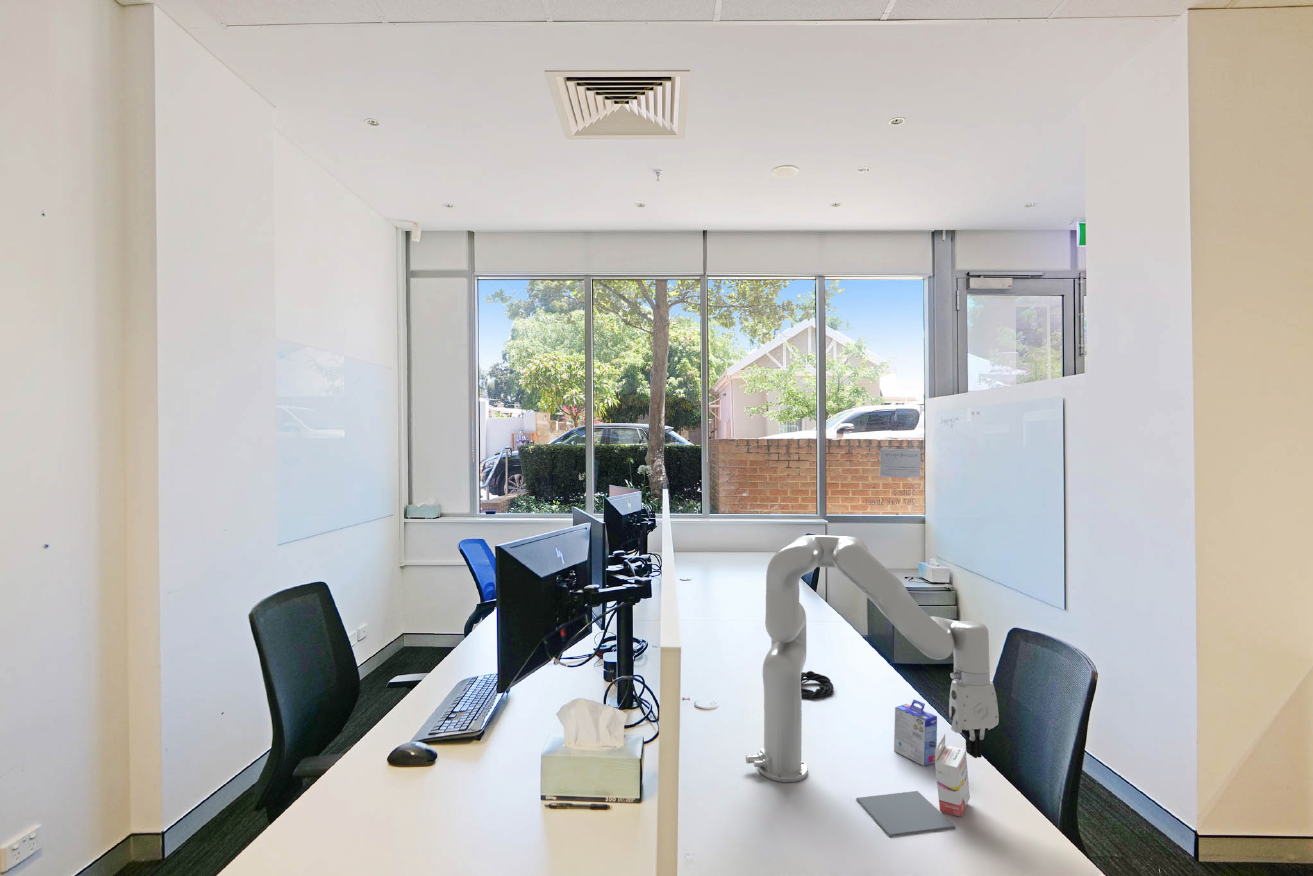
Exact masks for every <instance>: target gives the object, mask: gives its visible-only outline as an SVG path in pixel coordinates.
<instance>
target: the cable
mask: <svg viewBox="0 0 1313 876" xmlns="http://www.w3.org/2000/svg"><path fill="white" fill-rule="evenodd" d="M809 681H813V682H814V681H815V682H817V683H819V684H821V685H820V686H819V687H818V688H816V690H815V691H814V690H812V689H808V688H805V687H801V698H802V699H805V700H809V699H816V698H820V697H828V696H830V695H831V694H833V692H834V685H833V683H832V681H831V679H830V678H829V677H828V676H826V675H824V674H823V675H822V674H820V673H816V672H814V671H812V670H809V671H807V672H803V671H802V673H801V685H803V684H806V683H808V682H809Z"/></svg>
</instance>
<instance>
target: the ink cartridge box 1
mask: <svg viewBox="0 0 1313 876" xmlns="http://www.w3.org/2000/svg"><path fill="white" fill-rule="evenodd" d="M916 704H917V705H919V706H920V707H918V706H916ZM925 706H926V703H924V702H922V701H919V700H916V699H913V700H912V703H911V704H908V703H905V704H902V705H898V706H896V707H894V734H893V736H894V737H893V741H894V742H893V752H895V753H898V754H899V755H901V756H903V757H905V758H908V759H910V760H912V761H913V762H915V763H918V764H920V765H921V766H923V767H924V766H927V765H930V764H931V765H932V764H935V749H936V747H937V745H938V743H937V741H938V740H937V738H938V716H937V715H935V714H932V713H930V712H928V711H925V710H924V709H925Z"/></svg>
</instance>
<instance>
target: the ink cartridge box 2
mask: <svg viewBox="0 0 1313 876" xmlns="http://www.w3.org/2000/svg"><path fill="white" fill-rule="evenodd" d="M934 766H935V774H936V775H935V776H936V777H935V778H936V786H937V795H938V797H937V798H938V803H939V811H940V812H941V813H945V814H949V815H953V816H956V817H959V818H962V817H963V814H964V812H965V809H966V807H967V805H968V803H969V801H970V798H971V795H970V785H969V775H968V773H969V772H968V761H967V752H966V749H965V748H964V749H963V748H960V747H955V746H949V745H946V733H945V734H943V735H942V737H941V738H940V740H939V742H938V743H937V747H936V749H935V763H934Z"/></svg>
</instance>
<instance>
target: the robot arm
mask: <svg viewBox="0 0 1313 876" xmlns="http://www.w3.org/2000/svg"><path fill="white" fill-rule="evenodd" d="M816 568H831V569H832V568H834V569H837V571H838V572H839V573H840V574H841V575H843V577H845V579H846V580H847V581H849V582H850V583H851V584H852V585H853V586H854V587H855V588H857V590H858V591H860V592H861V593H862V594H863V595H864V596H865V597H866V598H867V599H868V600H870V601H871V602H872V603H873V604H874V606H876V607H877V608H878V610H879V611H880V612H881V614H882V615H884V617H886V619H887V620H889V622H890V623H891V624H892V625H893V626H894V627H895V629H896V630H897V631H898V632H899V633H900V634H901V635H902V636H903V637H904V638H906V639H907V640H908V641H909V642H910V643H911V644H912V645H913V646H914V647H915V648H916V649H917V650H919V651H920V652H921V653H922V654H923V655H925V657H928V658H930V659H931V660H935V661H936V660H938V661H939V660H945V659H947V658H949V657H950V656H951V655H952V654H953V672H950V674H949V675H950V678H951V679H952V680H951V685H950V691H949V700H948V701H949V703H948V710H949V711H948V713H949V714H948V716H949V721H950V722H951V726H950V729H951V731H953V732H955V733H957V734H962V735H963V736H964V737H965V750H966V754H968V755H969V756H971V757H972V758H974V759H978V758H979V759H980V758H982V750H983V749H982V748H983V747H982V743H983V742H982V741H983V740H984V738H985V734H986V733H987V732H988V731H989V730H991V729H994V728H995V727H996V726H999V716H1000V715H999V705H998V699H997V693H996V690H995V689H996V688H995V685H994V683H993V681H991V679H990V677H991V675H990V674H991V673H990V671H991V670H990V639H989V638H990V635H989V629H988V627H987V626H986V624H983V623H981V622H979V621H975V620H960V621H959V620H954V619H949V618H945V617H940V616H933V615H932V616H930V615H929V614H928V613H926V611H924V610H923V609H922V608H921V606H919V604H918V603H917V602H916V601H915V600H914V598H913V597H912V596H911V594H910V593H909V590H908V589H907V587H906V586H905V585H904V583H903V582H902V581H901V580H900V579H899V577H897V576H896V575H895V574H894V573H892V572H891V571H890V570H889V569H888V568H887V566H885V565H883V564H882V563H881V562H880V561H879V560H878V559H877V558H876V557H875V556H874V555H873V554H872V553H870V551H869V549H868V546H867V545H866V543H865V542H864V541H863V540H862V539H860V538H858V537H854V536H846V535H845V536H839V535H814V534H811V535H810V534H809V535H808V534H807V535H802V536H799V537H798V538H796V539H795V540H793V541H792V543H790V544H789V545H786V546H785V547H783V548H782V549H780V550H779V551H777V552H775V554H774V555H773V556H772V557H771V559H770V561H769V563H768V565H767V568H766V569H767V570H766V578H765V629H766V632H767V634H768V636H769V638H770V639H771V641H770V642H771V643H770V644H771V645H770V646H771V647H770V649H769V650H768V652H767V654H766V656H765V658H764V660H763V664H762V683H763V748H760V750H759V751H760V752H757V754H747V755H745V763H746V764H747V765H749V764H753V767H754V768H757V769H758V772H760V774H761V775H763V776H764V777H766V778H768V779H770V780H772V781H775V782H779V783H780V782H781V783H794V782H798V781H801V780H803V779H804V778H806V777H807V776H808V770H809V769H808V766H807V764H806V762H805V761H804V760H802V739H803V738H802V737H803V736H802V735H803V734H802V733H803V731H802V730H803V729H802V727H803V726H802V723H803V721H802V720H803V719H802V718H803V717H802V716H803V714H802V712H803V710H802V708H803V707H802V700H803V698H802V697H801V688H802V684H801V673H802V672H803V670H804V666H805V664H806V661H807V614H806V610H805V608H804V606H803V604H802V603H801V602H800V580H801V578H802V577H803V576H805V575H806V574H810V573H811V572H813V571H815V570H816Z"/></svg>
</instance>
